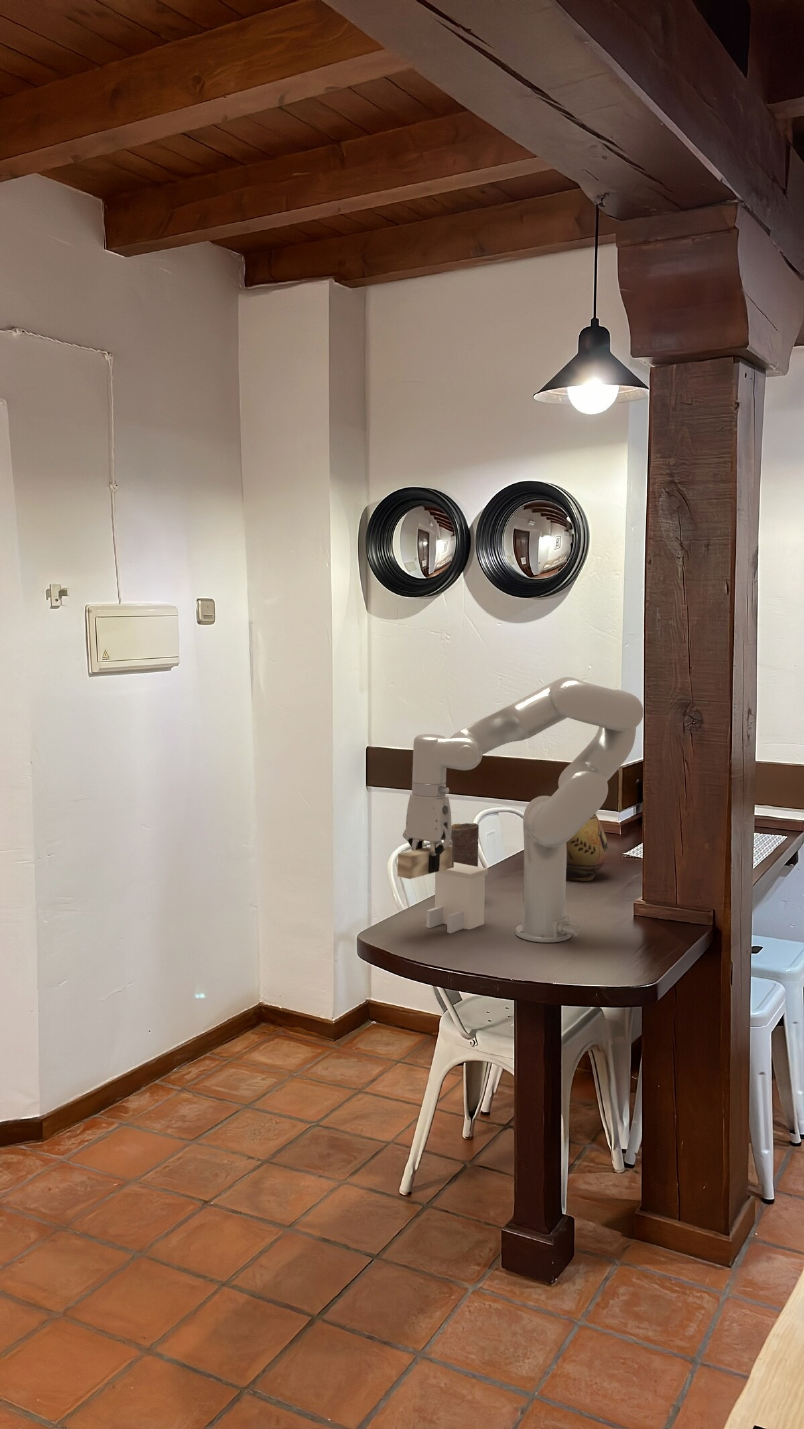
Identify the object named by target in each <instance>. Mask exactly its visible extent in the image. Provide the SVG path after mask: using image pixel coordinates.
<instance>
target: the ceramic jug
mask: <svg viewBox="0 0 804 1429" xmlns="http://www.w3.org/2000/svg"><path fill="white" fill-rule="evenodd" d="M607 839H608V838H607V835H606V832H605V829H604V827H603V825H602V823H601V821H600V819H599V817H598V815H597V813H595V814H594V815H593V816H592V817H591V818H590V819H589V820H588V821H587V822H586V824H585V825H584V826H583V827H582V828H581V829H580V830H579V831H578V832H577V833H576V834H575V835H574V836H573V837H572V838H571V839H570V840H569V841H567V842H566V851H567V861H566V880H568V881H570V882H583V881H584V882H585V881H586V882H589V881H592V880H594V878H595V876H596V874H597V873H598V871H600V869H601V868H603V866H604V865H605V863H606V860H607V857H608V852H609V850H608V849H609V848H608V840H607Z"/></svg>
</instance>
